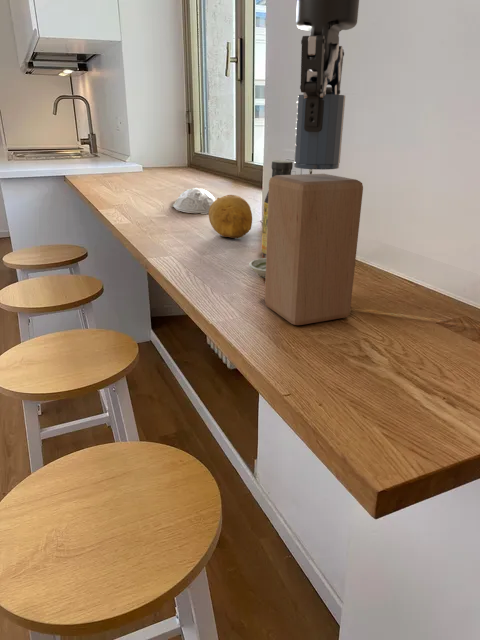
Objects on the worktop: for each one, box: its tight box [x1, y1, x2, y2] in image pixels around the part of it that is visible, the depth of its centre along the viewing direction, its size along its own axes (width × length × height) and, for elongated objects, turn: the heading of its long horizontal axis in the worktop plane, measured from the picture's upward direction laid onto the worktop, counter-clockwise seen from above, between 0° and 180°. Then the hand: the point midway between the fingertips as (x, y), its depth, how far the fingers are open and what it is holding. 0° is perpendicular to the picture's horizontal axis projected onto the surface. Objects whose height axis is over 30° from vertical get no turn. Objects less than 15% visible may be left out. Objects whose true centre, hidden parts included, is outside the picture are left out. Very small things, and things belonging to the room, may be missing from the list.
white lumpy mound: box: [172, 187, 217, 215], centre depth 161 cm, size 16×25×7 cm, turn 7°
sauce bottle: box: [261, 159, 294, 258], centre depth 100 cm, size 7×6×20 cm
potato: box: [208, 194, 253, 240], centre depth 122 cm, size 10×12×10 cm
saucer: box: [248, 257, 266, 279], centre depth 93 cm, size 10×10×2 cm
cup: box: [293, 94, 346, 171], centre depth 66 cm, size 6×6×9 cm
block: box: [264, 173, 364, 326], centre depth 72 cm, size 10×10×20 cm
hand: (318, 130), depth 66 cm, fingers closed on cup, 6 cm apart
